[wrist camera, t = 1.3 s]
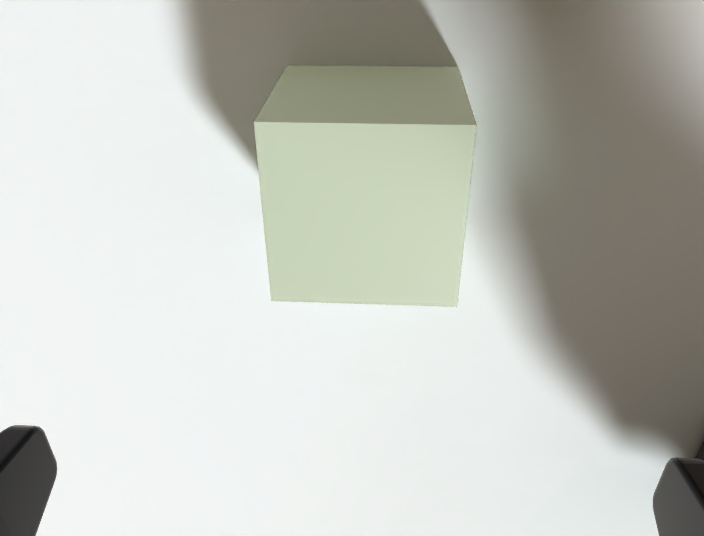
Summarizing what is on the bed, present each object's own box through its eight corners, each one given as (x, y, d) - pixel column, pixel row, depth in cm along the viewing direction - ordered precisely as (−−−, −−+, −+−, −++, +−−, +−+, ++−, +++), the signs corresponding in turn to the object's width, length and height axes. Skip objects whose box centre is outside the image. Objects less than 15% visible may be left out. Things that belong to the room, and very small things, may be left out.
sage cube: (444, 217, 20) (457, 306, 16) (297, 214, 21) (271, 301, 16) (457, 65, 18) (476, 124, 13) (287, 64, 18) (253, 121, 14)
